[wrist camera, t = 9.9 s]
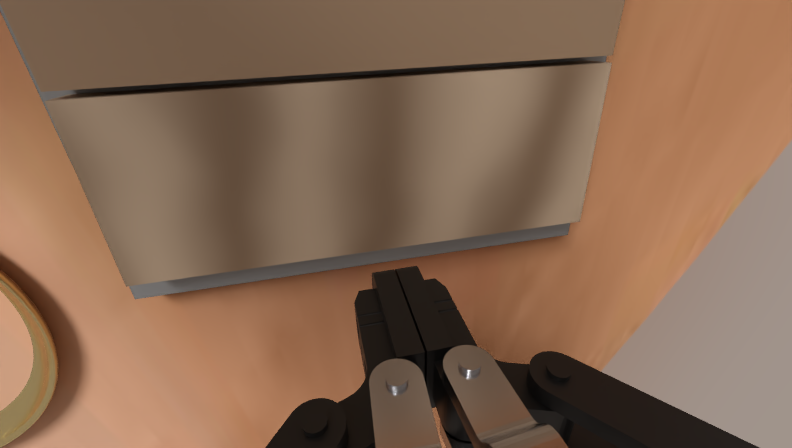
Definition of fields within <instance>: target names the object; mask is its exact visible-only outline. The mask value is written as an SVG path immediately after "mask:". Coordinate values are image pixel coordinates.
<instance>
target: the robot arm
mask: <svg viewBox="0 0 792 448" xmlns="http://www.w3.org/2000/svg"><path fill="white" fill-rule="evenodd" d="M372 287H373V289H368V290H362V291H359V292H358V295H357V298H356V300H355V312H356V322H357V331H358V339H359V345H360V350H361V355H362V361H363V366H364V372H365V377H366V378H365V381H364V383H363V384H362V386H361V387H360V388H359V389H358V390H357V391H356V392H355V393H354V394H352V395H351V396H349V397H348V398H346V399H344V400H342V401H340V402H339V403H336V402H334V401H333V400H330V399H325V398H318V399H312V400H309V401H307V402H305V403H303V404H301V405H300V406H298V407H297V408H296V409H295V410H294V411H293V412H292V413H291V415H290V416H289V417H288V419H287V420H286V421H285V423H284V424H283V425H282V426H281V428H280V429H279V430H278V432H277V433H276V434H275V436H274V437H273V438H272V440H271V441H270V442H269V444H268V445H267V446H266V448H442V447H441V444H440V440H439V436H438V432H437V428H436V424H435V420H434V416H433V412H432V408H434V407H436V408H437V411H438V414H439V417H440V433H441V436H442V439H443V441H444V444H445V446H446V448H759V447H757V446H755V445H753V444H751V443H748V442H746V441H744V440H742V439H740V438H738V437H736V436H734V435H732V434H729V433H728V432H726V431H723V430H721V429H719V428H717V427H715V426H713V425H711V424H708V423H706V422H705V421H702V420H700V419H698V418H696V417H694V416H692V415H690V414H688V413H686V412H684V411H682V410H680V409H678V408H675V407H673V406H671V405H669V404H667V403H665V402H663V401H661V400H658V399H657V398H654V397H652V396H650V395H648V394H646V393H644V392H642V391H640V390H638V389H636V388H634V387H632V386H629V385H627V384H625V383H623V382H621V381H619V380H617V379H615V378H613V377H611V376H608V375H607V374H604V373H602V372H600V371H598V370H596V369H594V368H592V367H590V366H588V365H586V364H584V363H581V362H579V361H577V360H575V359H573V358H571V357H569V356H567V355H564V354H562V353H558V352H552V351H547V352H541V353H539V354H536V355H535V356H534V357H533V358H532V359H531V361H530V365H529V364H517V363H506V362H501V361H498V360H495V359H493V357H492V356H491V355H490V354H489V353H488V352H486V351H485V350H483V349H482V348H479V347H478V346H477V345H476V343H475V341H474V339H473V337H472V336H471V334H470V332H469V330H468V328H467V326H466V324H465V322H464V320H463V319H462V317H461V315H460V313H459V311H458V310H457V307H456V305H455V303H454V302H453V301H452V298H451V296H450V294H449V292H448V290H447V288H446V287H445V286H444V285H442V284H441V283H440V282H439V281H437V280H436V279H429V280H424V279H423V277H422V275H421V273H420V271H419V268H418V267H417V266H413V267H406V268H400V269H395V271H394V270H388V271H382V272H375V273H372Z"/></svg>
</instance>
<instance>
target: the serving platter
mask: <svg viewBox="0 0 792 448" xmlns="http://www.w3.org/2000/svg"><path fill="white" fill-rule="evenodd" d="M0 290H1V291H2V292H3V293H4V295H5V296H6V297H7V298H8V299H9V300H10V302H11V303H12V304H13V305H14V307H15V308H16V309H17V311H18V312H19V314H20V315H21V317H22V319H23V321H24V322H25V324H26V326H27V329H28V331H29V334H30V337H31V340H32V345H33V353H34V360H33V368H32V372H31V375H30V378H29V380H28V382H27V384H26V386H25V387H24V389H23V390H22V392H21V393H20V394H19V396H18V397H17V398H16V399H15V400H14V401H13V402H12V403H11V404H9V405H8V406H7V407H6V408H5V409H3V410H2V411H0V448H1V447H3V446H5V445H7V444H8V443H10V442H11V441H13V440H15V439H16V438H18V437H19V436H20V435H22V434H23V433H24V432H25V431H27V430H28V429H29V428H30V427H31V426H32V425H33V424H34V423H35V422H36V421H37V420H38V419H39V418H40V417H41V415H42V414H43V412H44V411H45V410H46V408H47V407H48V405H49V403H50V401H51V399H52V397H53V395H54V392H55V389H56V386H57V379H58V357H57V352H56V347H55V344H54V341H53V338H52V335H51V332H50V330H49V328H48V326H47V324H46V322H45V320H44V318H43V317H42V315H41V314H40V312H39V311H38V309H37V308H36V306H35V305H34V304H33V302H32V301H31V300H30V299H29V297H28V296H27V295H26V294H25V292H24V291H23V290H22V289H21V288H20V287H19V286H18V285H17V284H16V283H15V282H14V281H13V280H12V279H11V278H10V277H9V276H7V275H6V274H5V273H4V272H3V271H2V270H0ZM44 346H45V347H44ZM45 351H46V352H45ZM46 357H47V359H46ZM46 369H47V370H46ZM45 377H46V378H45ZM44 380H45V381H44Z"/></svg>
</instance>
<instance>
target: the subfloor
mask: <svg viewBox="0 0 792 448" xmlns="http://www.w3.org/2000/svg"><path fill="white" fill-rule="evenodd" d="M624 2H625V0H0V12H1V14H2V16H3V18H4V20H5V22H6V24H7V27H8V29H9V31H10V33H11V35H12V37H13V39H14V41H15V44H16V46H17V48H18V50H19V52H20V54H21V56H22V59H23V61H24V63H25V65H26V67H27V69H28V71H29V73H30V76H31V78H32V80H33V82H34V84H35V86H36V88H37V91H38V93H39V95H40V97H41V99H42V101H43V103H44V106H45V108H46V110H47V112H48V114H49V116H50V118H51V120H52V117H51V115H50V113H49V111H48V108H47V106H46V104H45V102H44V101H47V100H50V99H54V98H58V97H61V96H65V95H68V94H81V93H97V92H112V91H127V90H142V89H158V88H173V87H188V86H204V85H219V84H234V83H249V82H265V81H280V80H295V79H311V78H326V77H341V76H356V75H372V74H387V73H402V72H418V71H433V70H448V69H463V68H479V67H494V66H509V65H525V64H540V63H555V62H570V61H586V60H590V61H599V62H606V57H607V56H611V55H613V51H614V47H615V42H616V38H617V33H618V29H619V24H620V20H621V16H622V11H623V7H624ZM52 123H53V125H54V127H55V124H54V122H53V120H52ZM55 129H56V127H55ZM56 131H57V129H56ZM57 133H58V131H57ZM58 135H59V133H58ZM59 138H60V136H59ZM60 140H61V138H60ZM61 142H62V140H61ZM62 144H63V142H62ZM63 146H64V145H63ZM64 148H65V147H64ZM65 150H66V149H65ZM66 153H67V151H66ZM67 155H68V154H67ZM68 157H69V156H68ZM69 159H70V158H69ZM70 161H71V160H70ZM74 170H75V169H74ZM569 227H570V223H565V224H558V225H552V226H545V227H538V228H531V229H524V230H517V231H510V232H503V233H496V234H489V235H482V236H475V237H468V238H461V239H454V240H447V241H440V242H433V243H426V244H419V245H412V246H405V247H398V248H391V249H384V250H377V251H370V252H363V253H356V254H349V255H342V256H336V257H329V258H322V259H315V260H308V261H301V262H294V263H287V264H280V265H273V266H266V267H259V268H252V269H245V270H238V271H231V272H224V273H217V274H210V275H203V276H196V277H189V278H182V279H175V280H168V281H161V282H154V283H147V284H140V285H133V286H129V287H130V289H131V291H132V293H133V296H134V298H135V299H140V298H146V297H153V296H160V295H166V294H173V293H180V292H187V291H193V290H200V289H207V288H213V287H220V286H227V285H234V284H240V283H247V282H254V281H260V280H267V279H274V278H281V277H287V276H294V275H301V274H307V273H314V272H321V271H327V270H334V269H341V268H348V267H354V266H361V265H368V264H374V263H381V262H388V261H395V260H401V259H408V258H415V257H421V256H428V255H435V254H441V253H448V252H455V251H462V250H468V249H475V248H482V247H488V246H495V245H502V244H509V243H515V242H522V241H529V240H535V239H542V238H549V237H556V236H562V235H568V231H569Z"/></svg>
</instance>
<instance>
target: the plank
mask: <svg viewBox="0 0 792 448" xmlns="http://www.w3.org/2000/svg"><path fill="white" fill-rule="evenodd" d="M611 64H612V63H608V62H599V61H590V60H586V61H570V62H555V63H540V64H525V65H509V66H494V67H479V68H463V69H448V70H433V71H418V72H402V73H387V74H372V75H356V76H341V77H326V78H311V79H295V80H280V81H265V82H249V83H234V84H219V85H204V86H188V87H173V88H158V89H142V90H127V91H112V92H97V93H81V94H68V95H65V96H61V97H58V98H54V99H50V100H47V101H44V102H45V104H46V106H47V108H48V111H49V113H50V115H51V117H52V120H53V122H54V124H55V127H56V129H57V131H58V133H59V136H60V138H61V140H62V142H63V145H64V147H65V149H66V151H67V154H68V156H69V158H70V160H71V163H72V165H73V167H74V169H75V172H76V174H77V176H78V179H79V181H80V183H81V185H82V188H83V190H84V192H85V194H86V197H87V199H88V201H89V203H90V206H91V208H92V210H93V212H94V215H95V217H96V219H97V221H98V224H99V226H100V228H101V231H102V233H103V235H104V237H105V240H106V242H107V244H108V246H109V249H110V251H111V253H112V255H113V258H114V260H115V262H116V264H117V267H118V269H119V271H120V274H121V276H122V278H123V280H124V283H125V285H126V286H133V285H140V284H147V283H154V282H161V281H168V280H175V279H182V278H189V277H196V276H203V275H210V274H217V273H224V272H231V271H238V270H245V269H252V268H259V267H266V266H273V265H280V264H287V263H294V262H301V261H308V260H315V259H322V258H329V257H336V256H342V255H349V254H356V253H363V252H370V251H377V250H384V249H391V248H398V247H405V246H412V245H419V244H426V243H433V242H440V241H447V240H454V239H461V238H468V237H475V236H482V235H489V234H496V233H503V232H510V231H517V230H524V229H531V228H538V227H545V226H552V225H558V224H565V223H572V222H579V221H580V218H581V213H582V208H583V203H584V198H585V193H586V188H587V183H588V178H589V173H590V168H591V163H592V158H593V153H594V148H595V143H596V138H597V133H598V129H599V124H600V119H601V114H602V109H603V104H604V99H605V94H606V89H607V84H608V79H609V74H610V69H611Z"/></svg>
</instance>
